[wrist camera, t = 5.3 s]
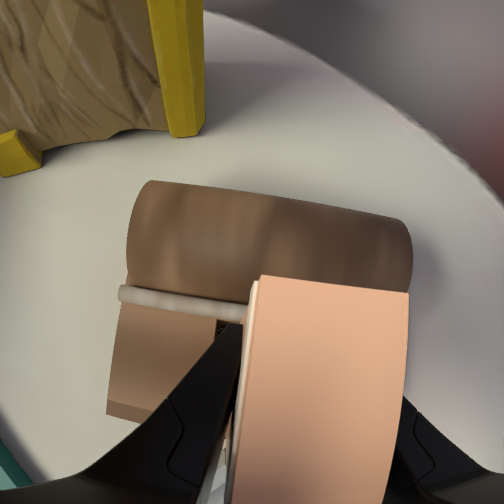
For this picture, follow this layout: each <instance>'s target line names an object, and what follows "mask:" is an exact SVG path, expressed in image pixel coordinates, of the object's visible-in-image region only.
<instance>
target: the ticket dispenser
mask: <svg viewBox="0 0 504 504" xmlns="http://www.w3.org/2000/svg"><path fill="white" fill-rule="evenodd" d="M126 259H127V269H128V275H127V280H126V284H125V285H121V286H120V288H119V291H118V300H119V301H122V304H121V309H120V315H119V320H118V326H117V332H116V338H115V344H114V351H113V358H112V365H111V372H110V380H109V389H108V398H107V409H106V414H107V415H111V416H114V417H118V418H121V419H125V420H129V421H133V422H137V423H141V424H142V423H143V422H144V421H145V420H146V419H147V418H148V417H149V416H150V414H151V413H152V412H153V411H154V410H155V409H156V408H157V407H158V406H159V405H160V404H161V402H162V401H163V400H164V399H165V398H167V396H168V395H169V393H170V392H171V391H172V390H173V389H174V388H175V386H176V385H177V384H178V383H179V382H180V381H181V379H182V378H183V377H184V376H185V375H186V374H187V372H188V371H189V370H190V369H191V368H192V367H193V365H194V364H195V363H196V362H197V361H198V359H199V358H200V357H201V356H202V355H203V353H204V352H205V351H206V350H207V349H208V348H209V346H210V345H211V344H212V343H213V342H214V340H215V339H216V338H217V334H218V326H220V327H226V326H227V325H228V324H229V323H237V324H240V322H241V319H242V317H243V315H244V313H245V310H246V308H247V306H248V304H249V300H250V292H251V288H252V286H253V283H254V281H259V279H260V276H261V275H268V276H276V277H283V278H290V279H298V280H305V281H313V282H321V283H328V284H336V285H344V286H352V287H360V288H368V289H377V290H385V291H394V292H402V293H407V291H408V287H409V284H410V280H411V274H412V266H413V250H412V243H411V238H410V235H409V232H408V230H407V228H406V226H405V225H404V223H403V222H402V221H400V220H398V219H395V218H390V217H385V216H381V215H376V214H371V213H366V212H361V211H356V210H351V209H345V208H340V207H335V206H329V205H324V204H318V203H313V202H307V201H301V200H295V199H289V198H283V197H277V196H270V195H264V194H257V193H250V192H243V191H236V190H229V189H222V188H214V187H207V186H199V185H190V184H182V183H173V182H164V181H154V180H151V181H148V182H147V183H146V184H145V185H144V186H143V188H142V189H141V191H140V193H139V195H138V197H137V199H136V202H135V204H134V207H133V211H132V214H131V218H130V223H129V228H128V235H127V248H126ZM225 439H226V436H225Z"/></svg>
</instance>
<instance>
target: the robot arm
mask: <svg viewBox="0 0 504 504" xmlns="http://www.w3.org/2000/svg"><path fill="white" fill-rule="evenodd" d="M242 338H243V324H237V323H229V324H228V325H227V326H226V327H225V328H224V330H223V331H222V332H221V333H220V334H219V336H218V337H217V338H216V339H215V340H214V342H213V343H212V344H211V345H210V346H209V348H208V349H207V350H206V351H205V352H204V353H203V355H202V356H201V357H200V358H199V359H198V361H197V362H196V363H195V364H194V365H193V367H192V368H191V369H190V370H189V371H188V372H187V374H186V375H185V376H184V377H183V378H182V379H181V381H180V382H179V383H178V384H177V385H176V386H175V388H174V389H173V390H172V391H171V392H170V393H169V395H168V396H167V398H165V399H164V400H163V401H162V402H161V404H160V405H159V406H158V407H157V408H156V409H155V410H154V411H153V412H152V413H151V414H150V416H149V417H148V418H147V419H146V420H145V421H144V422H143V423H142V424H140V425H139V426H138V427H137V428H136V429H135V430H134V431H133V432H132V433H130V434H129V435H128V436H127V437H126V438H124V439H123V440H122V441H121V442H120V443H118V444H117V445H116V446H115V447H113V448H112V449H111V450H110V451H109V452H107V453H106V454H105V455H104V456H102V457H101V458H100V459H99V460H97V461H96V462H95V463H93V464H92V465H91V466H89V467H88V468H86V469H85V470H83V471H81V472H79V473H77V474H75V475H72V476H69V477H65V478H61V479H57V480H53V481H49V482H44V483H39V484H34V485H29V486H24V487H18V488H12V489H6V490H0V504H207V503H208V499H209V496H210V492H211V488H212V485H213V481H214V477H215V473H216V470H217V466H218V462H219V458H220V455H221V451H222V447H223V443H224V439H225V436H226V432H227V428H228V424H229V420H230V416H231V412H232V408H233V403H234V397H235V392H236V386H237V381H238V376H239V370H240V365H241V355H242ZM382 504H504V474H501V473H495V472H492V471H489V470H487V469H485V468H483V467H482V466H480V465H479V464H477V463H476V462H475V461H474V460H473V459H471V458H470V457H469V456H468V455H467V454H465V453H464V452H463V451H462V450H461V449H459V448H458V447H457V446H456V445H455V444H453V443H452V442H451V441H450V440H449V439H448V438H446V437H445V436H444V435H443V434H442V433H441V432H440V431H438V430H437V429H436V428H435V427H434V426H433V425H432V424H431V423H430V422H429V421H428V420H427V419H426V418H425V417H424V416H423V415H422V414H421V413H420V412H417V409H416V408H415V407H414V406H413V405H412V404H411V403H410V402H409V401H408V400H407V399H406V398H405V397H404V396H403V397H402V405H401V412H400V419H399V426H398V432H397V438H396V443H395V449H394V454H393V459H392V464H391V468H390V473H389V477H388V481H387V485H386V489H385V493H384V497H383V501H382Z"/></svg>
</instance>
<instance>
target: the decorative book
mask: <svg viewBox="0 0 504 504" xmlns="http://www.w3.org/2000/svg"><path fill="white" fill-rule="evenodd" d="M204 123H205V88H204V36H203V0H0V175H1V176H2V177H8V176H12V175H16V174H20V173H23V172H27V171H30V170H34V169H38V168H40V167H41V166H42V155H43V151H44V150H48V149H51V148H54V147H57V146H62V145H67V144H73V143H79V142H87V141H96V140H105V139H108V138H109V137H111V136H112V135H114V134H116V133H117V132H119V131H122V130H128V129H134V128H138V129H152V130H163V131H170V133H171V136H172V138H176V137H187V136H193V135H197V133H198V132H199V130H200V129H201V127H202V126H203V125H204Z"/></svg>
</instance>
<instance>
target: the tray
mask: <svg viewBox="0 0 504 504" xmlns="http://www.w3.org/2000/svg"><path fill="white" fill-rule="evenodd" d="M225 483H226V449H223V450H222V451H221V455H220V458H219V462H218V466H217V470H216V473H215V477H214V481H213V485H212V488H211V492H210V496H209V499H208V503H207V504H224V491H225Z"/></svg>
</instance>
